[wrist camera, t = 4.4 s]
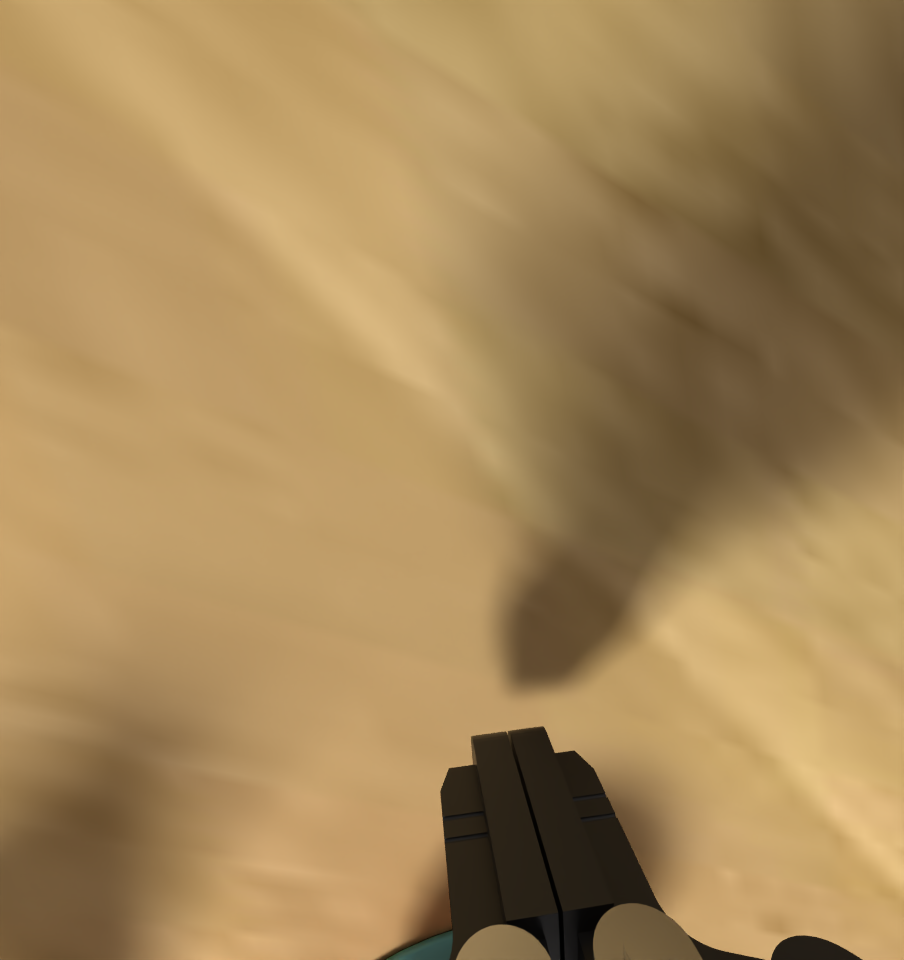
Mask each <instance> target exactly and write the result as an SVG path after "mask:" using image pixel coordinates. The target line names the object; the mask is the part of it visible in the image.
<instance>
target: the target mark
mask: <svg viewBox="0 0 904 960" xmlns="http://www.w3.org/2000/svg"><path fill="white" fill-rule="evenodd" d="M452 943H453V930H452V931H449V932H446V933H443V934H440V935H437V936H434V937H431V938H429V939H427V940H425V941H422V942H420V943H418V944H415V945H413V946H411V947H409V948H406V949H404V950H402V951H400V952H398V953H396V954H395V955H393V956H391V957H389V958H388V959H386V960H449V959H450V955H451V951H452Z"/></svg>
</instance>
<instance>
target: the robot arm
mask: <svg viewBox="0 0 904 960" xmlns="http://www.w3.org/2000/svg"><path fill="white" fill-rule="evenodd" d="M471 745H472V758H473V765H469V766H462V767H455V768H449V770H448V772H447V775H446V778H445V780H444V783H443V786H442V788H441V791H440V793H441V804H442V816H443V827H444V839H445V850H446V862H447V873H448V884H449V896H450V907H451V919H452V930H453V943H452V951H451V955H450V959H449V960H764V959H759V958H754V957H749V956H744V955H739V954H734V953H729V952H725V951H721V950H717V949H714V948H711V947H709V946H707V945H704V944H702V943H700V942H699V941H697V940H695V939H693V938H692V937H690V936H689V935H687V934H686V932H685V931H684V930H683V929H682V928H681V927H680V926H679V925H678V924H677V923H676V922H675V921H674V920H673V919H672V918H670V917H669V916H667V915H666V914H665V912H664V911H663V910H662V908H661V907H660V905H659V903H658V902H657V900H656V898H655V896H654V894H653V892H652V890H651V888H650V885H649V883H648V881H647V879H646V877H645V875H644V873H643V871H642V869H641V867H640V865H639V862H638V860H637V858H636V856H635V854H634V852H633V850H632V848H631V846H630V844H629V841H628V839H627V837H626V835H625V833H624V831H623V829H622V827H621V825H620V823H619V820H618V818H616V816H615V812H614V810H613V808H612V806H611V804H610V802H609V799H608V797H607V798H606V795H605V791H604V789H603V787H602V785H601V783H600V781H599V779H598V776H597V774H596V772H595V770H594V769H593V768H592V767H591V766H590V765H589V764H588V763H587V762H586V761H585V760H584V759H583V758H582V757H581V756H580V755H579V754H577V753H576V752H575V751H568V752H561V753H555V752H554V750H553V747H552V745H551V742H550V740H549V737H548V735H547V732H546V730H545V728H544V727H543V726H541V727H534V728H526V729H519V730H512V731H508V735H507V732H506V731H505V732H498V733H491V734H483V735H476V736H471ZM771 960H862V959H860V958H859V957H857V956H856V955H854V954H852V953H851V952H849V951H847V950H846V949H844V948H842V947H840V946H838V945H836V944H834V943H832V942H829V941H827V940H824V939H821V938H817V937H812V936H794V937H790V938H787V939H785V940H783V941H782V942H780V943H779V944H778V945H777V946H776V948H775V950H774V952H773V954H772V958H771Z"/></svg>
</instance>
